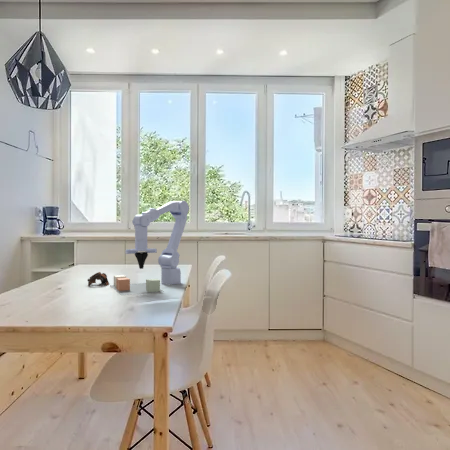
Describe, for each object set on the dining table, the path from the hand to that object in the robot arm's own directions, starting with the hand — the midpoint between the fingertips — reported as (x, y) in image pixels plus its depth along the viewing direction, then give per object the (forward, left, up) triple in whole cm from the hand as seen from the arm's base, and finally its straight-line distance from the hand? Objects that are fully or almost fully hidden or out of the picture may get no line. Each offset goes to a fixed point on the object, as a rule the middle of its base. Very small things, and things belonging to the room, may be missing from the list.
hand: (141, 268), depth 178 cm
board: (+3, 0, -10) cm, 11 cm away
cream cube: (+8, -9, -9) cm, 15 cm away
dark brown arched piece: (+16, -19, -11) cm, 27 cm away
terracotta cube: (+9, 0, -9) cm, 13 cm away
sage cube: (-3, +9, -9) cm, 13 cm away
